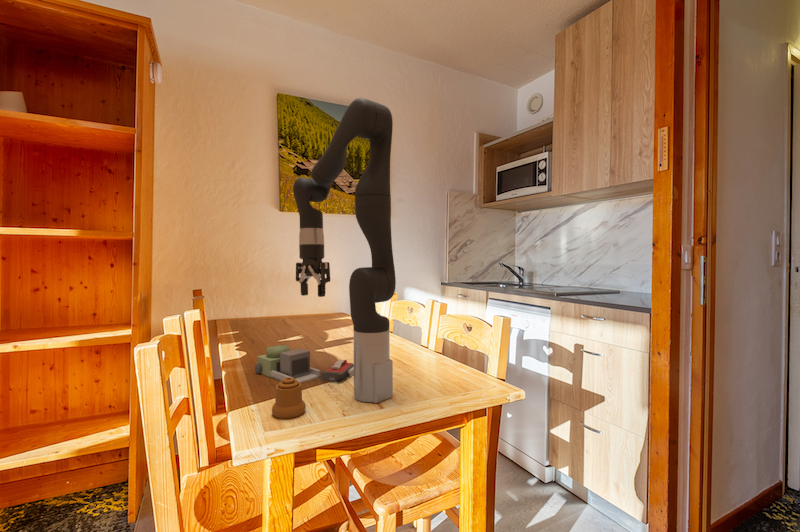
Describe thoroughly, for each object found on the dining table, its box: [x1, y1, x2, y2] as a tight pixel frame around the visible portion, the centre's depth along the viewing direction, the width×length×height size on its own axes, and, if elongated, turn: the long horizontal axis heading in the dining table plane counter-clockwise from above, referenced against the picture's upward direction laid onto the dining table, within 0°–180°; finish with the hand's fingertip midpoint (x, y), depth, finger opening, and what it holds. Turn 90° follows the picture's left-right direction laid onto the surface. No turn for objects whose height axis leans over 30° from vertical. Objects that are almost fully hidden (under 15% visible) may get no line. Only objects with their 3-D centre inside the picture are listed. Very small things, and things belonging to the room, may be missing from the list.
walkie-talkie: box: [320, 359, 354, 383], centre depth 119 cm, size 9×4×20 cm
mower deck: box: [254, 344, 322, 384], centre depth 118 cm, size 19×12×7 cm, turn 48°
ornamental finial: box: [271, 377, 307, 420], centre depth 89 cm, size 8×8×8 cm
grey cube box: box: [280, 348, 311, 379], centre depth 115 cm, size 5×7×7 cm
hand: (312, 295), depth 119 cm, fingers open, 8 cm apart
